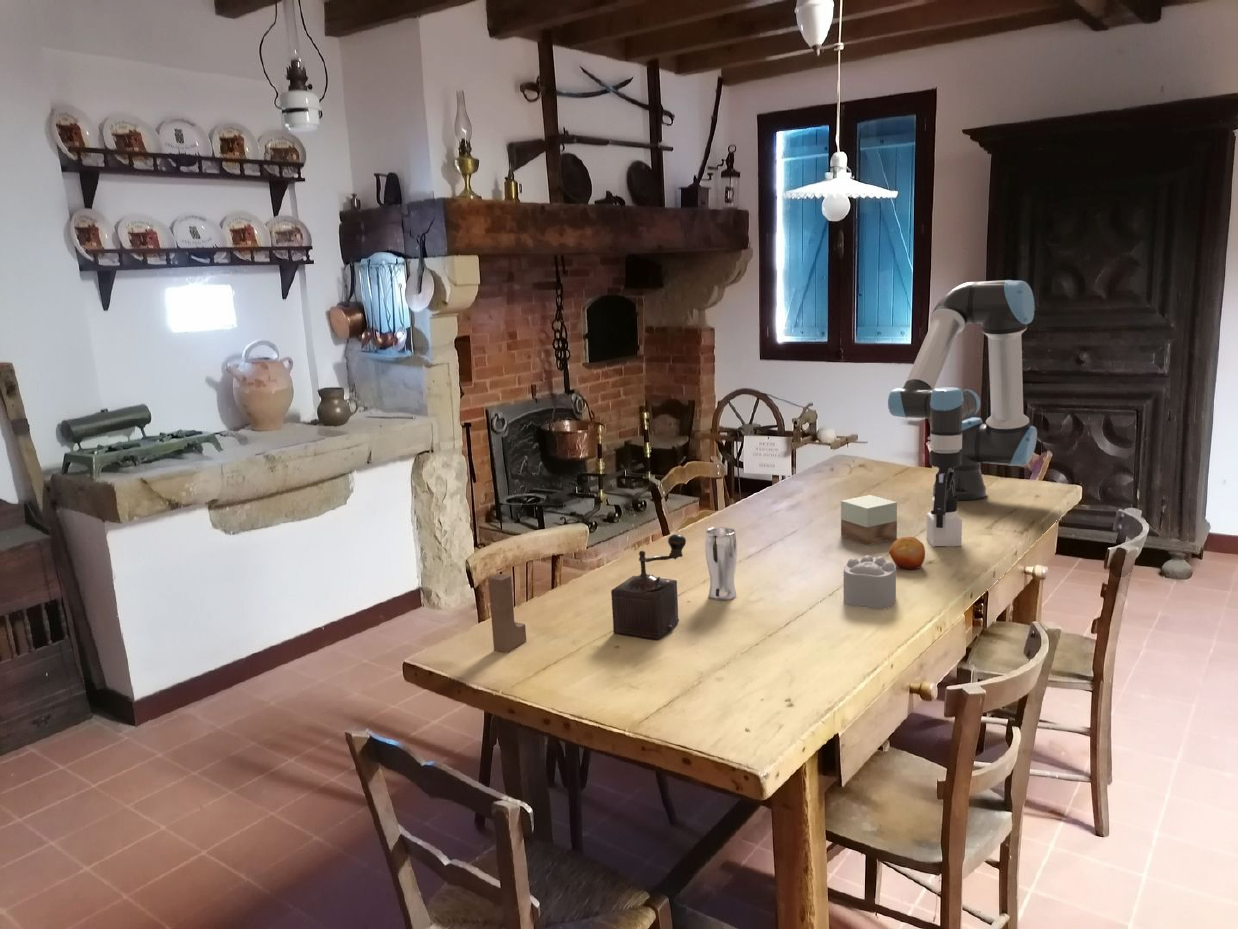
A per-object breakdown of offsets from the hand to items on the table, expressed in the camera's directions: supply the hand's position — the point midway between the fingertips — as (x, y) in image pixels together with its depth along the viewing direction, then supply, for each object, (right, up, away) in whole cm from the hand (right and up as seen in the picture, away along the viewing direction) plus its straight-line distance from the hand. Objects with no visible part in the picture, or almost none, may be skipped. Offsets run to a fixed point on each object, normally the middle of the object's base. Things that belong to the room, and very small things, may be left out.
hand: (943, 532), depth 233 cm
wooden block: (-104, -19, -50) cm, 117 cm away
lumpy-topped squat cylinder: (-28, -12, -34) cm, 46 cm away
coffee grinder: (-75, -16, -43) cm, 88 cm away
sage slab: (-17, +3, +8) cm, 19 cm away
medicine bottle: (0, -3, +1) cm, 3 cm away
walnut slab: (-17, -2, +8) cm, 19 cm away
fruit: (-14, -7, -16) cm, 23 cm away
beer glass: (-59, -12, -29) cm, 67 cm away
